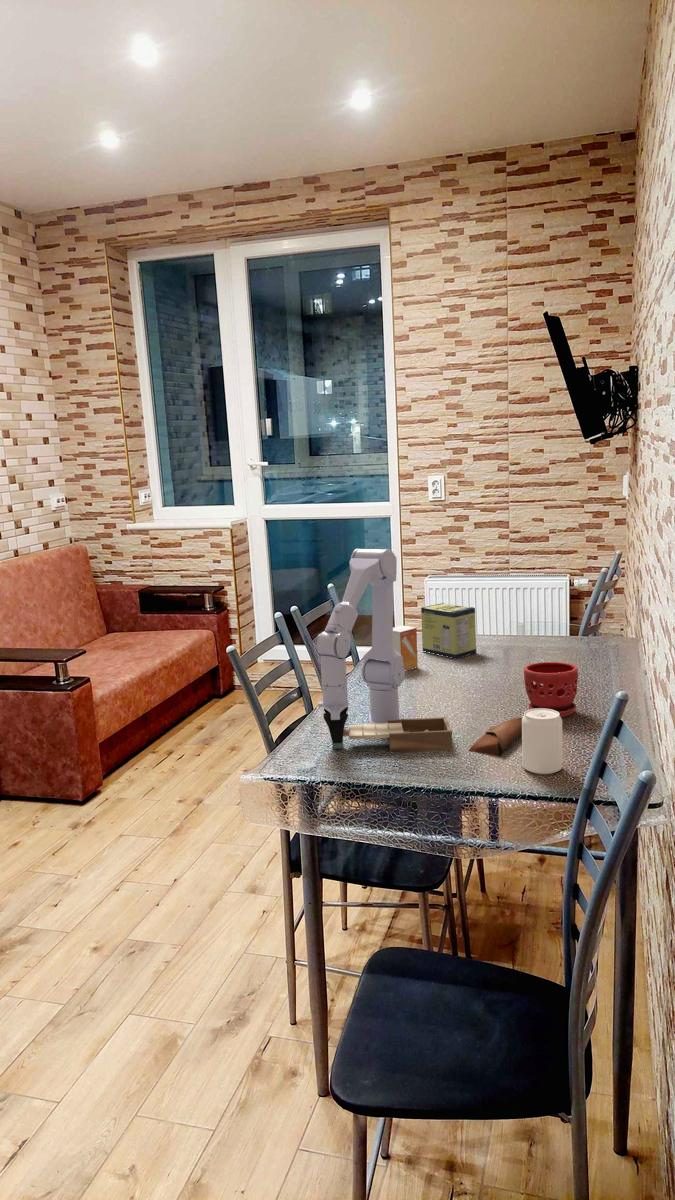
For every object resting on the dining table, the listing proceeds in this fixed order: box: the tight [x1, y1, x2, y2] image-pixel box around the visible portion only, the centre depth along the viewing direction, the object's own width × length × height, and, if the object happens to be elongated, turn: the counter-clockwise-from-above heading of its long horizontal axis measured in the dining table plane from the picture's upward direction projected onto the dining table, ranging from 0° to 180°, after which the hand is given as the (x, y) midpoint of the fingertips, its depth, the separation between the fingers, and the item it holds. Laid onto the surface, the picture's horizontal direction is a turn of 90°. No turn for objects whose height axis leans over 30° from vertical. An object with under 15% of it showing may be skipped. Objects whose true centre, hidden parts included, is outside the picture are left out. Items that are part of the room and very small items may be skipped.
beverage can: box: [521, 708, 563, 775], centre depth 166 cm, size 8×8×12 cm
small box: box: [393, 624, 419, 671], centre depth 250 cm, size 8×6×13 cm
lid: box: [331, 723, 403, 750], centre depth 185 cm, size 8×16×5 cm, turn 90°
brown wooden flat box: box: [387, 716, 453, 754], centre depth 185 cm, size 10×14×4 cm
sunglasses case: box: [468, 717, 523, 757], centre depth 184 cm, size 18×7×7 cm, turn 150°
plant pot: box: [523, 661, 579, 718], centre depth 202 cm, size 13×13×12 cm
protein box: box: [420, 602, 477, 659], centre depth 268 cm, size 10×16×16 cm
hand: (337, 740), depth 185 cm, fingers closed on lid, 3 cm apart
